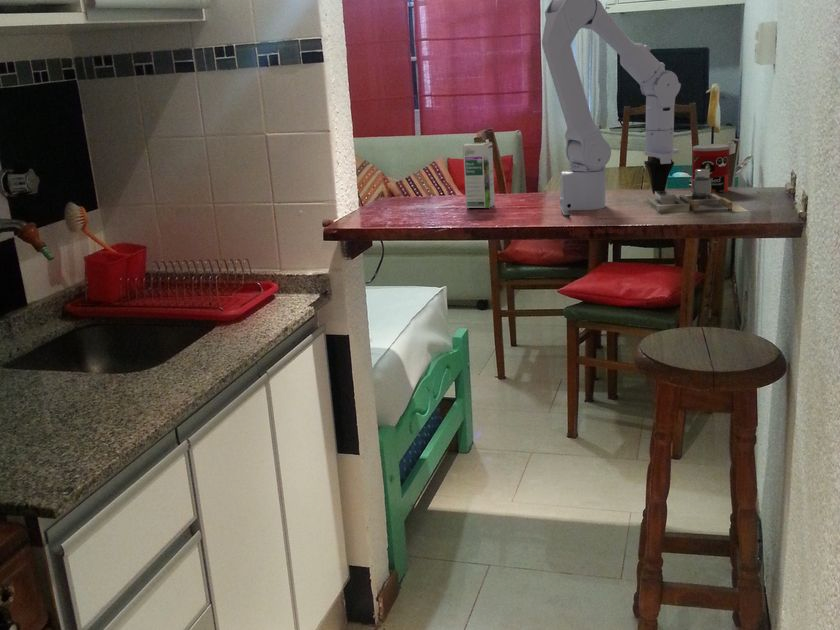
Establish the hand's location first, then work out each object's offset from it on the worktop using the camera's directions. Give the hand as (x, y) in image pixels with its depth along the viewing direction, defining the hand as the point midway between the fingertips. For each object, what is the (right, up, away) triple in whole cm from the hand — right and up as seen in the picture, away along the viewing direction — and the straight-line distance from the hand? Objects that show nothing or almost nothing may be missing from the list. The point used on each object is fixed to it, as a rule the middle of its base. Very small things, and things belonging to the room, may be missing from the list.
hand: (658, 193), depth 177 cm
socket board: (+4, -5, -9) cm, 11 cm away
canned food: (+13, 0, +6) cm, 15 cm away
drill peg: (+6, -3, -8) cm, 11 cm away
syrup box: (-38, -1, +12) cm, 39 cm away
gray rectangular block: (-1, -3, -6) cm, 7 cm away
